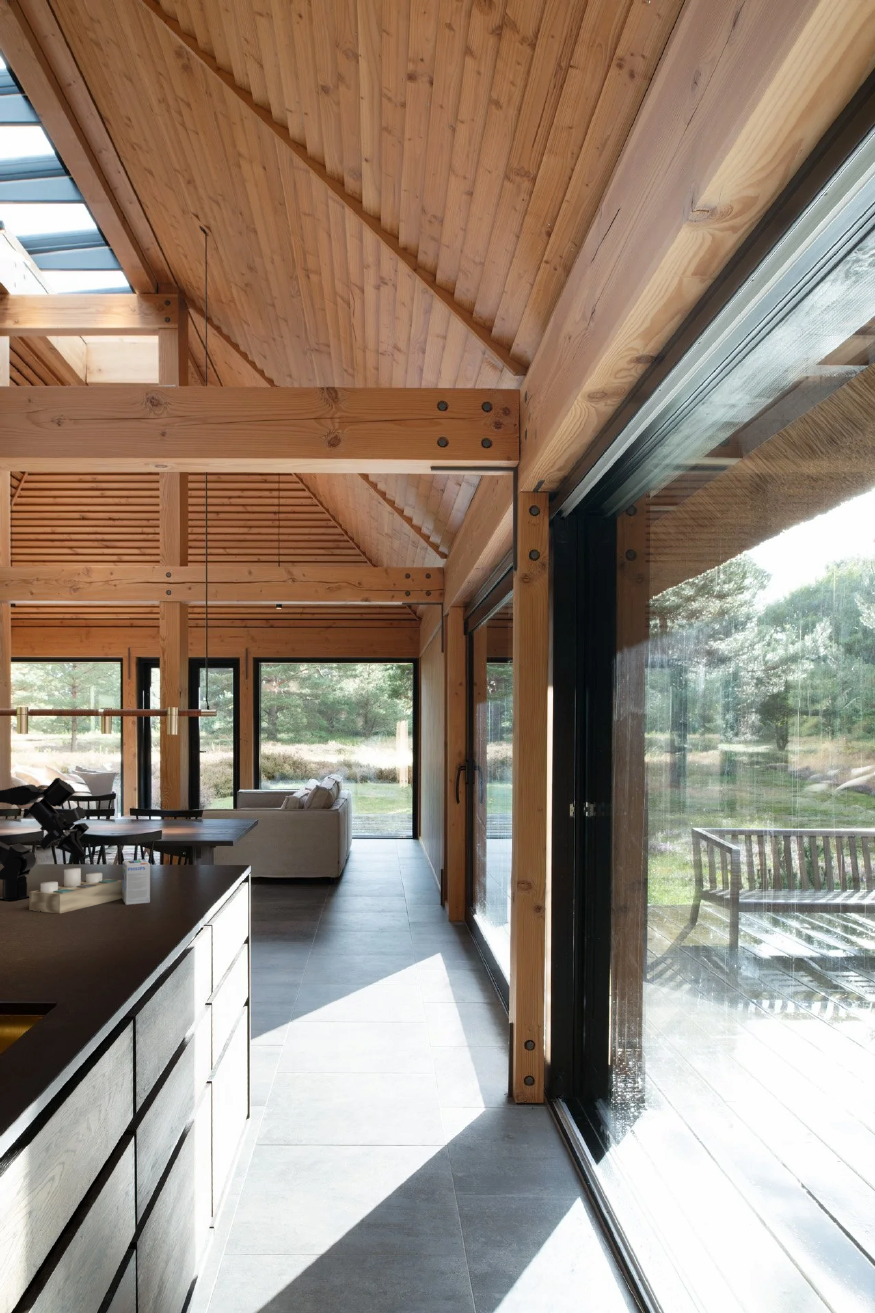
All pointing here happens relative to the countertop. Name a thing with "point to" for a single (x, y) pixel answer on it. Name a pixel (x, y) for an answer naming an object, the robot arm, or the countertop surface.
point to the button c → (93, 877)
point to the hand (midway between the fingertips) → (84, 856)
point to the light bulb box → (136, 882)
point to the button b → (72, 877)
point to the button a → (49, 887)
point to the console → (75, 896)
